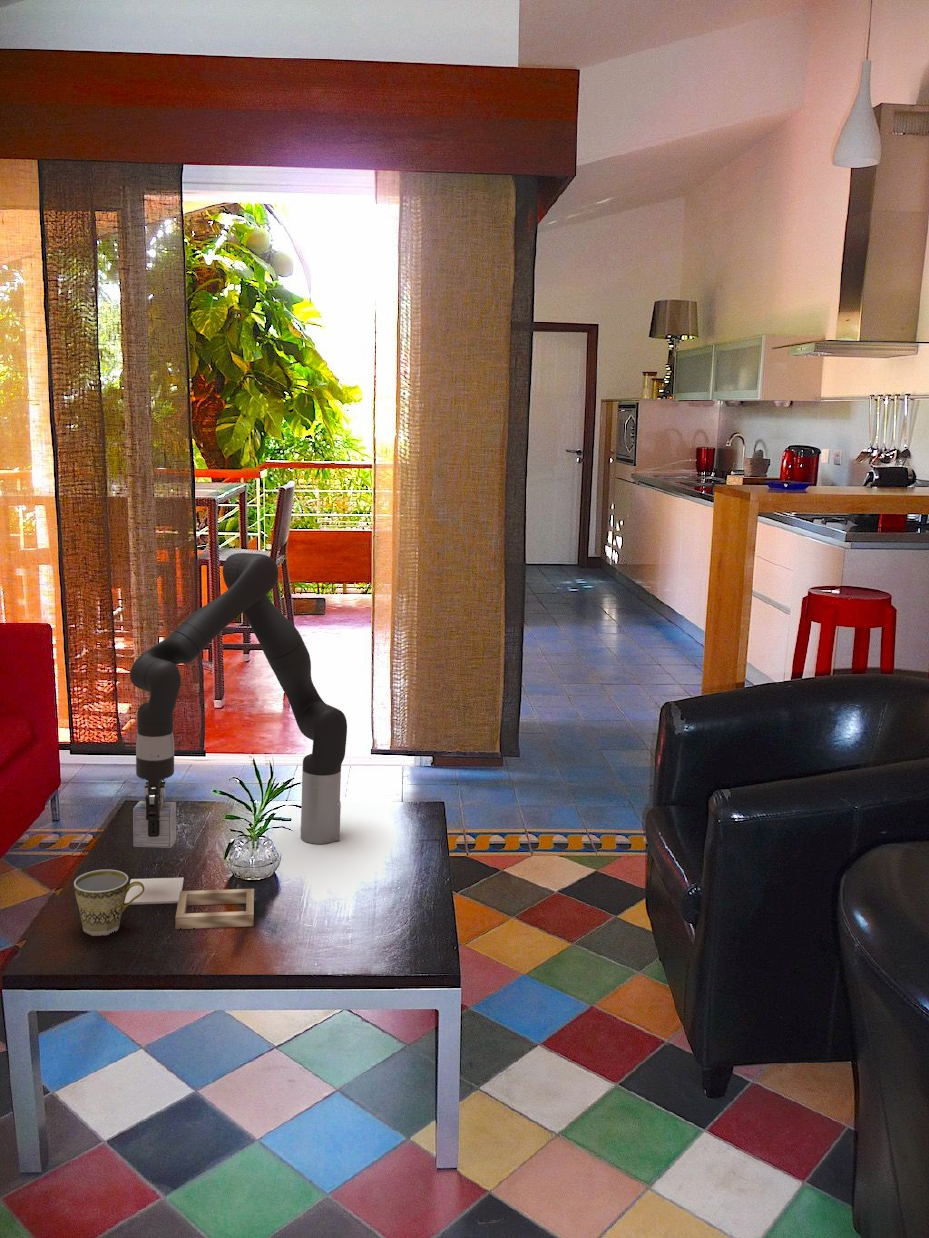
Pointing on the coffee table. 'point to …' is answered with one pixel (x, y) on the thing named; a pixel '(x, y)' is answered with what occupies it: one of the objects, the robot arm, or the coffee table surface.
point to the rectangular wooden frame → (215, 918)
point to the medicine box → (166, 826)
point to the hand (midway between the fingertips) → (155, 830)
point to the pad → (155, 891)
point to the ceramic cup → (102, 900)
